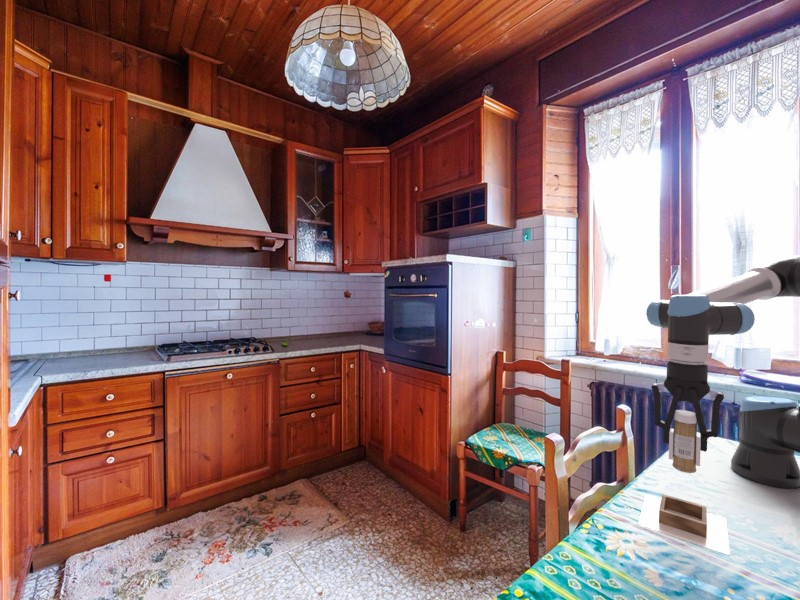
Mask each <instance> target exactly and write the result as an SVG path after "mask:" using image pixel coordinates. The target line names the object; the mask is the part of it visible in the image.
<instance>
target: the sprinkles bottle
mask: <svg viewBox="0 0 800 600" xmlns="http://www.w3.org/2000/svg"><path fill="white" fill-rule="evenodd" d="M697 425H698V422H697V418H696V414H695V412H693V411H689V410H686V409H685V410H683V409H676V411H675V414H674V417H673V429H674V436H673V460H672V464H671V465H672V467H673V468H674V469H675V470H677V471H679V472H682V473H688V474H694V473H696V472H697V465H696V439H697V434H698V433H697V430H698V429H697Z"/></svg>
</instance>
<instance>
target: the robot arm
mask: <svg viewBox="0 0 800 600" xmlns="http://www.w3.org/2000/svg"><path fill="white" fill-rule="evenodd" d="M782 297H783V298H784V297H792V298H793V297H794V298H795V297H798V298H799V297H800V255H799V254H798V255H793V256H788V257H783V258H779V259H776V260H773V261H769V262H766V263H764V264H761V265H758V266H755V267H752V268H749V269H748V270H746V271H745V272H744V273H743V275H740V276H736V277H734V278H732V279H728V280H726V281H724V282H723V281H722V282H720V283H717V284H714V285H712V286H708V287H705V288H702V289H700V290H697V291H694V292H691V293H688V294H674V295H671V296H670V297H669V299H668V300H667V299H659V300H657V299H656V300H654V301H651V302H650V304H649V305H648V306H647V309H646V319H647V321H648V322H649V323H650V324H651V325H652V326H654V327H658V328H661V329H662V328H663V329H667V348H666V349H667V351H666V353H667V354H666V355H667V356H666V357H667V359H668V360H667V361H666V378H665V380H664V381H663V382H659V383H656V382H654V383H652V384H651V390H652V393H653V396H654V400H653V401H654V402H653V403H654V408H653V409H654V425H655V426H656V427H660V428H661V429H662V430H663V437H662V438H663V442H664V444H667V445H668V459H669V460H672V461H673V436H674V428H671V426H672V423H673V421H674V419H673V417H674V414H675V411H676V410H677V408H678V404H679V402H688V403H691V404H692V407H693V409H694V413H695V414H696V418H697V422H698V423H697V425H698V431H699V433H697V439H696V467H701V452H704V453H705V452H707V450H708V439H709V438H712V437H713V438H717V437H718V436H719V428H720V427H719V425H720V410H721V408H720V407H721V404H722V403H723V401H724V399H725V396H724V393H723V392H722V391H716V390H714V389H712V388H711V387H710V385H709V383H708V378H709V377H708V375H709V374H708V373H709V368H708V367H709V365H707V362H708V361H709V340H710V339H709V337H710V336H711V335H712V336H713V335H714V336H715V335H717V336H718V335H723V336H724V335H726V336H727V335H730V336H735V335H737V334H738V335H739V334H744V333H746V332H749V331H750V330H751V329H752V328H753V326H754V324H755V314H754V312H753V310H752V309H751V308H750V307H749V306H748V305H746V304H748V303H751V302H754V301H756V300H760V301H761V300H762V301H766V300H771V299H774V298H782ZM665 388H666V390H667V391H668V393H669V394H670V395H671V397H672V399H671V403H670V405H669V409H668V412H667V415H666V417H665V421H664V420H662V394H663V392H664V391H665ZM707 394H708V395H709V398H710V400H711V401H712V406H711V408H712V409H711V422H710V423H711V424H710V429H707V425H706V420H705V417H704V414H703V413H704V412H703V408H702V404H701V400H702V399H703V398H704V397H706V396H707ZM740 403H741V404H740V408H739V412H740V413H739V444H738V446H737V447H736V449H735V451H734V453H733V455H732V458H731V460H730V468H731V469H732V471H733V472H735V473H736V474H737V475H739V476H741V477H743V478H746V479H748V480H751V481H753V482H756V483H759V484H762V485H766V486H771V487H774V488H776V487H777V488H784V489H800V466H799V464H798V462H797V459H796V457H795V452H796V453H800V403H799V404H797V401H795V400H792V399H790V398H785V397H784V398H783V397H774V396H760V395H759V396H747V397H744V398H742V399H741V402H740ZM797 407H798V408H797Z"/></svg>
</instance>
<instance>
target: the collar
mask: <svg viewBox="0 0 800 600" xmlns="http://www.w3.org/2000/svg"><path fill="white" fill-rule="evenodd" d="M666 509H669V510H673V511H676V512H679V513H682V514H686V515H689V516H692V517H696V518H699V519H702V521H698V520H695V519H692V518H689V517H685V516H682V515H679V514H676V513H672V512H669V511H666ZM707 509H708V508H707V506H705V505H701V504H698V503H695V502H692V501H687V500H684V499H681V498H678V497H674V496H670V495H668V494H664V493H662V495H661V503H660V509H659V523H661V524H665V525H668V526H671V527H674V528H677V529H680V530H683V531H686V532H689V533H692V534H695V535H698V536H701V537H704V538H706V536H707V512H708V511H707Z"/></svg>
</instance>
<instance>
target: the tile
mask: <svg viewBox="0 0 800 600" xmlns="http://www.w3.org/2000/svg"><path fill="white" fill-rule="evenodd" d="M661 498H662V497H661ZM661 498H660V497H657V496H653V495H650V494H645V497H644V500H643V505H642V508H641V513H640V515H639V519H638V524H637V525H638V526H641V527H645V528H648V529H650V530H653V531H657V532H660V533H663V534H665V535H668V536H672V537H674V538H677V539H679V540H682V541H686V542H689V543H691V544H695V545H698V546H700V547H704V548H706V549H709V550H712V551H715V552H718V553H721V554H724V555H727V556H731V553H730V544H729V532H728V525H727V517H725V516H722V515H719V514H715V513H711V512H708V511H707V536H706V538H704V537H701V536H698V535H695V534H692V533H689V532H686V531H683V530H680V529H677V528H674V527H671V526H668V525H665V524H661V523H659V509H660V503H661ZM666 511H669V512H672V513H676V514H679V515H682V516H685V517H689V518H692V519H695V520H698V521H702V519H699V518H696V517H692V516H689V515H686V514H682V513H679V512H676V511H673V510H669V509H666Z"/></svg>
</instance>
